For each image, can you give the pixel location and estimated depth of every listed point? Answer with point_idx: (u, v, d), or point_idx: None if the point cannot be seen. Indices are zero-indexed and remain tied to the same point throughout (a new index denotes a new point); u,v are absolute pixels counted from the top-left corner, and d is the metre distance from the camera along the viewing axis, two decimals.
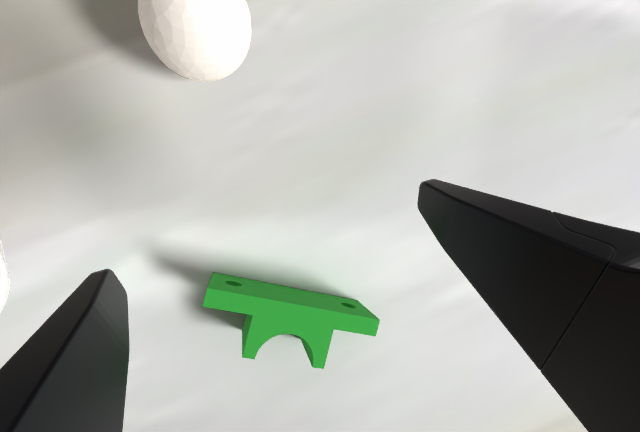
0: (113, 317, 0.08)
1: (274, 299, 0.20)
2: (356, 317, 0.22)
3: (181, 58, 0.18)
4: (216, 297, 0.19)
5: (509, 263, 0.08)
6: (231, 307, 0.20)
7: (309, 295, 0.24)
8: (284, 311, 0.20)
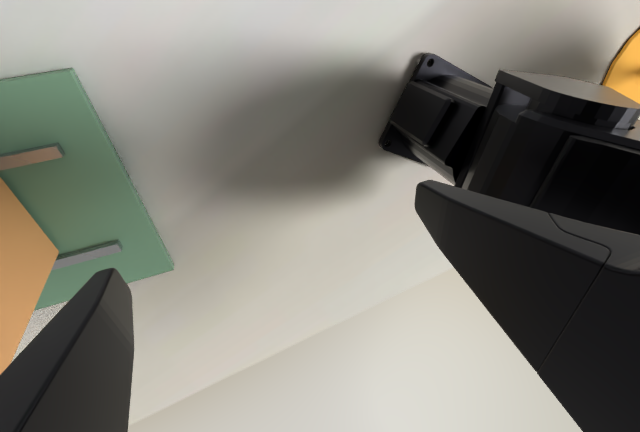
0: (118, 316, 0.08)
1: None
2: None
3: None
4: None
5: (506, 264, 0.08)
6: None
7: None
8: None
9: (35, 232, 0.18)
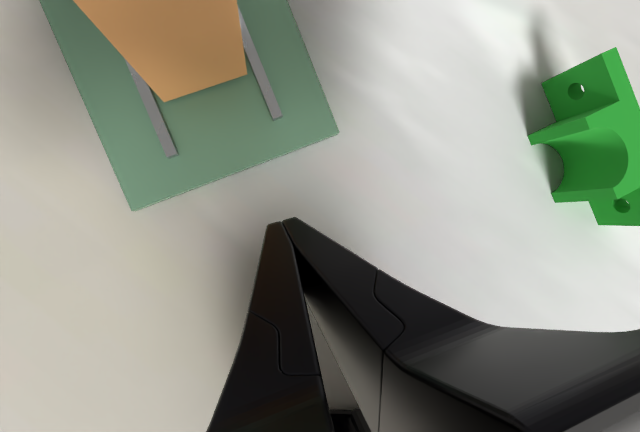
0: None
1: (636, 111, 0.20)
2: None
3: None
4: (614, 60, 0.20)
5: (336, 325, 0.07)
6: (614, 78, 0.20)
7: None
8: (637, 125, 0.20)
9: (194, 87, 0.19)
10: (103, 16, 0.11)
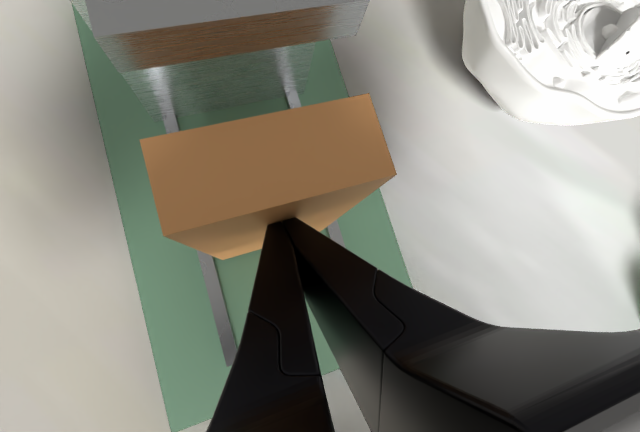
0: None
1: None
2: None
3: None
4: None
5: (336, 325, 0.07)
6: None
7: None
8: None
9: (261, 248, 0.16)
10: (204, 241, 0.08)
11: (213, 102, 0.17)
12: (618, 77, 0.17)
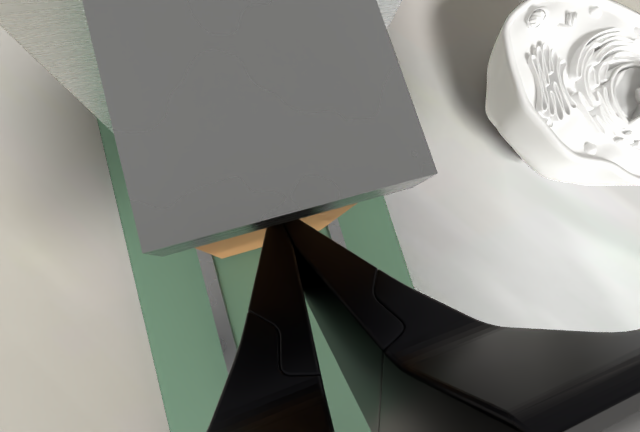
0: None
1: None
2: None
3: None
4: None
5: (336, 325, 0.07)
6: None
7: None
8: None
9: (261, 246, 0.16)
10: None
11: None
12: None
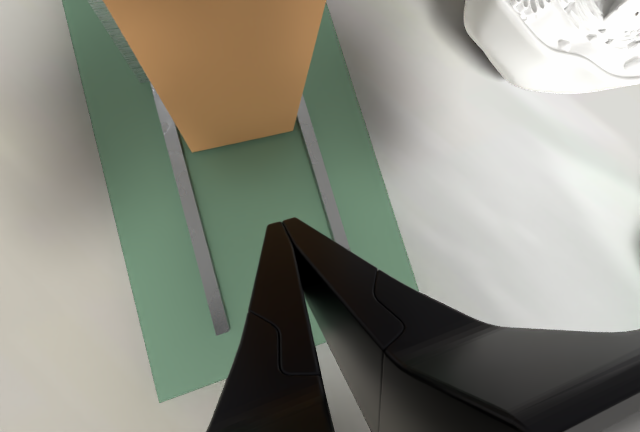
0: None
1: None
2: None
3: None
4: None
5: (336, 325, 0.07)
6: None
7: None
8: None
9: (231, 139, 0.16)
10: (147, 43, 0.08)
11: None
12: (625, 41, 0.16)
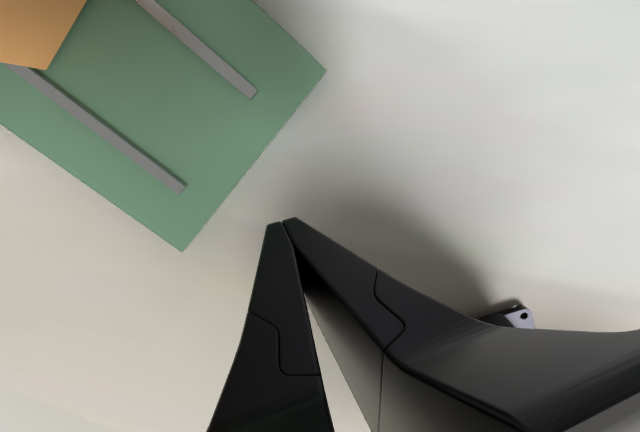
0: None
1: None
2: None
3: None
4: None
5: (336, 325, 0.07)
6: None
7: None
8: None
9: (56, 34, 0.15)
10: None
11: None
12: None
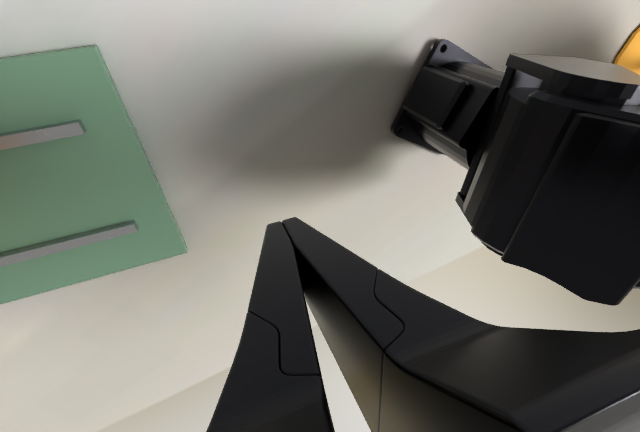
0: None
1: None
2: None
3: None
4: None
5: (336, 325, 0.07)
6: None
7: None
8: None
9: None
10: None
11: None
12: None
